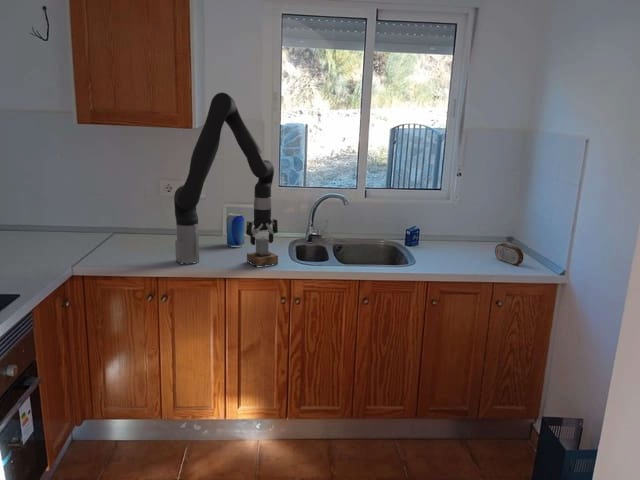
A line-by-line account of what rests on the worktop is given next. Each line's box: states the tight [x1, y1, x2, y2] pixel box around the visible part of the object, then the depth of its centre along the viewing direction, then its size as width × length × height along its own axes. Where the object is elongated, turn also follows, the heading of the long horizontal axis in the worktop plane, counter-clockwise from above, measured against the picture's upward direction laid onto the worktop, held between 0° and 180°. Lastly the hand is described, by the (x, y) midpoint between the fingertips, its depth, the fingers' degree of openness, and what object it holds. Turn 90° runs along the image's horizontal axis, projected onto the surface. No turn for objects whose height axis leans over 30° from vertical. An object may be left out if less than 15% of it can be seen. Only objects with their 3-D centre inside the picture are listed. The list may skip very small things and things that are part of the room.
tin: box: [494, 242, 524, 266], centre depth 251 cm, size 15×3×8 cm, turn 30°
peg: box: [255, 237, 269, 257], centre depth 237 cm, size 4×4×11 cm
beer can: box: [226, 212, 245, 247], centre depth 263 cm, size 8×8×16 cm
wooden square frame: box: [246, 250, 279, 266], centre depth 238 cm, size 10×10×4 cm
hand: (261, 243), depth 235 cm, fingers open, 8 cm apart
